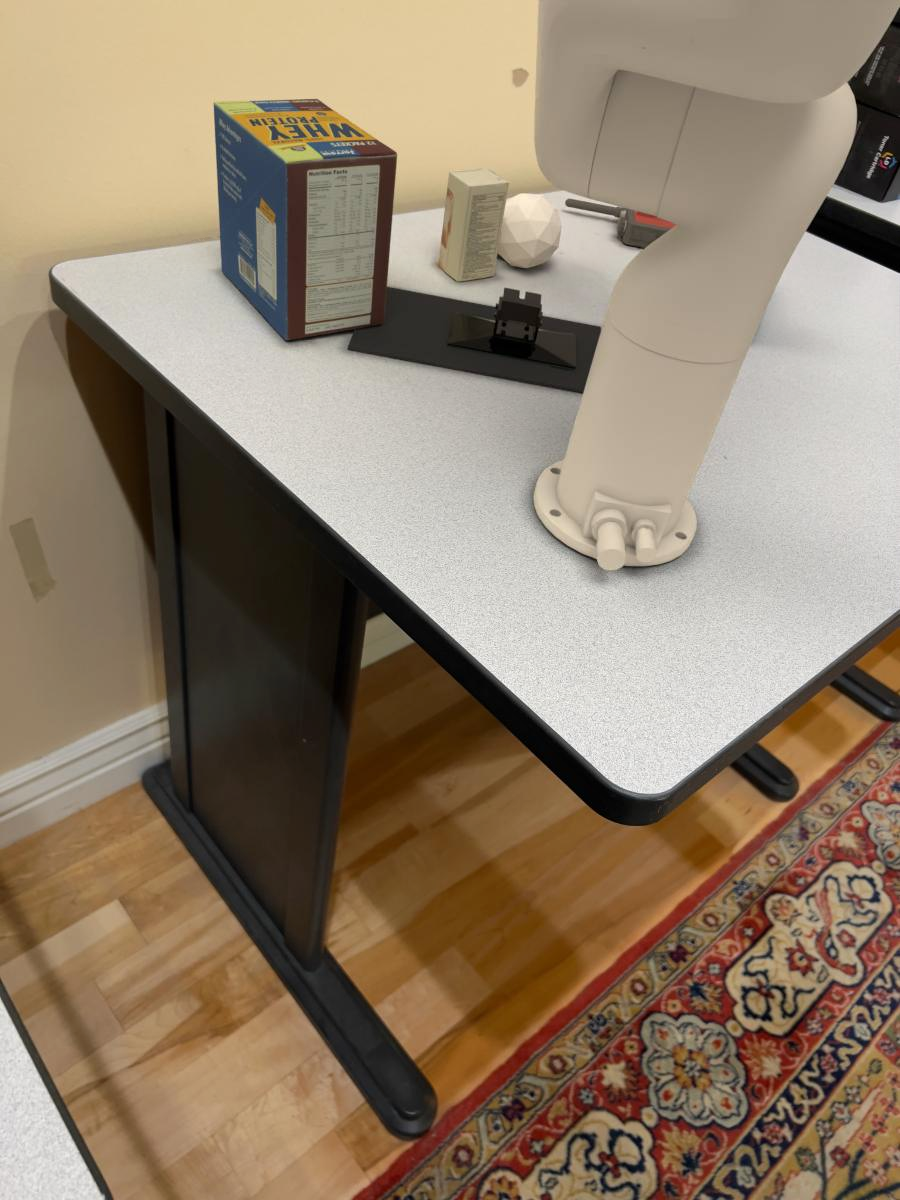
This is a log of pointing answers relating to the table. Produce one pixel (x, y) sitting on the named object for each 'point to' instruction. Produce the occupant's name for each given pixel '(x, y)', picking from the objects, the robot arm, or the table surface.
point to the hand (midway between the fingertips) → (691, 255)
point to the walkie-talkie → (629, 222)
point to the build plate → (514, 333)
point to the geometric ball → (529, 230)
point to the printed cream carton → (472, 223)
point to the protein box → (304, 214)
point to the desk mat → (422, 337)
